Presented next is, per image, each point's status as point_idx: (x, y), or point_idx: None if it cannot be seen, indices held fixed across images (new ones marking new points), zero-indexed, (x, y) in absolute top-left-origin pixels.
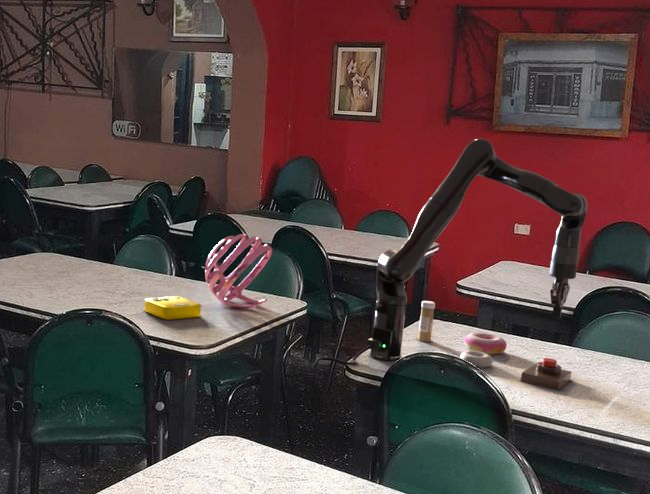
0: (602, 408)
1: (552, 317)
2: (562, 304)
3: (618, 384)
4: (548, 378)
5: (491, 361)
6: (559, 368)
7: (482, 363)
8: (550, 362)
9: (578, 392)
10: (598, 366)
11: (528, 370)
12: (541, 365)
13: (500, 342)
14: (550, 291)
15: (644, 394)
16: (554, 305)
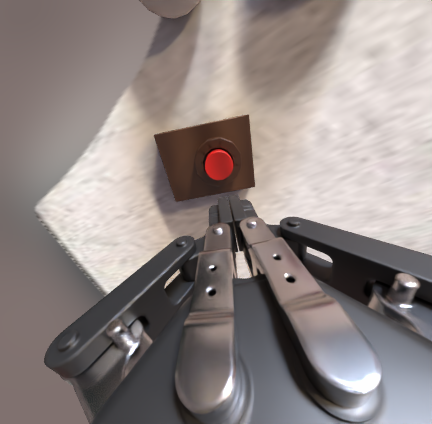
0: None
1: (218, 199)
2: (245, 261)
3: None
4: (171, 185)
5: (176, 13)
6: (216, 185)
7: (142, 2)
8: (207, 173)
9: (199, 216)
10: (386, 169)
11: (181, 135)
12: (200, 155)
13: None
14: (51, 344)
15: None
16: (202, 239)
